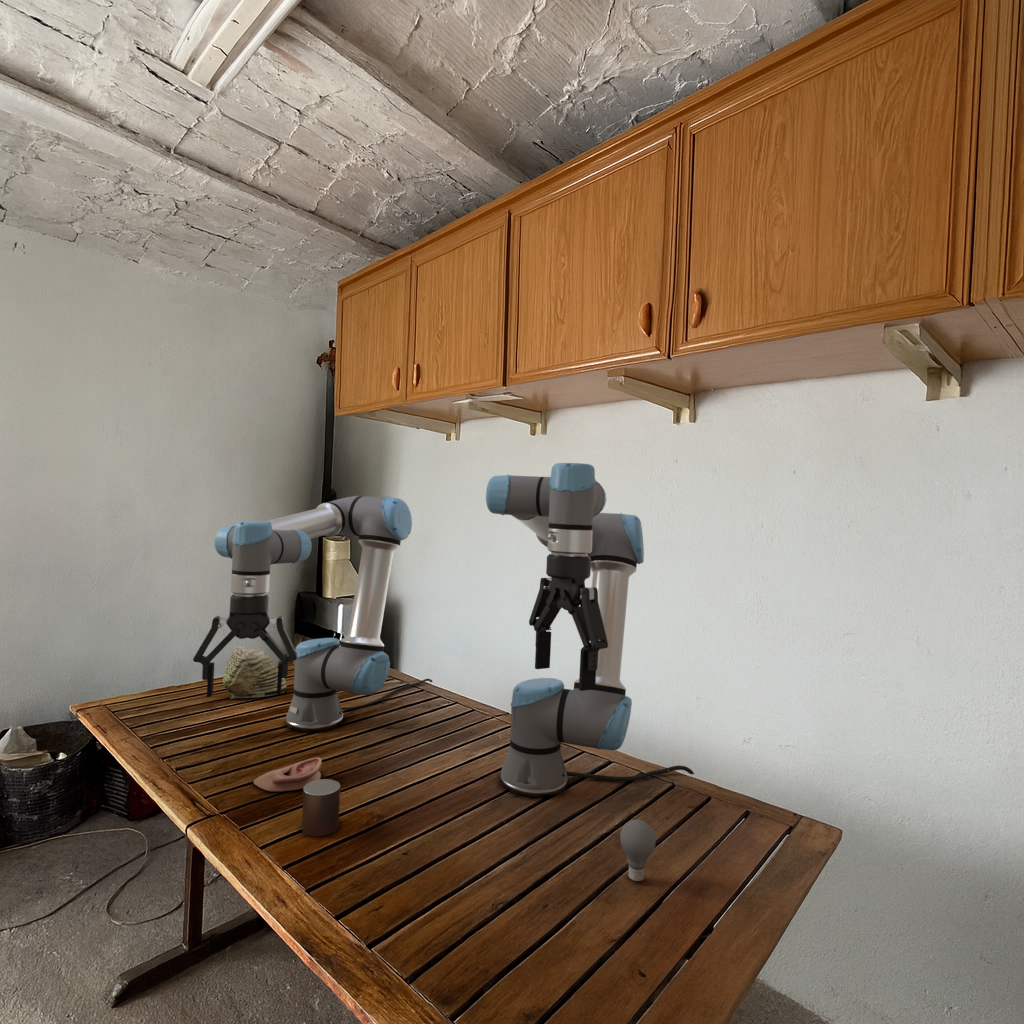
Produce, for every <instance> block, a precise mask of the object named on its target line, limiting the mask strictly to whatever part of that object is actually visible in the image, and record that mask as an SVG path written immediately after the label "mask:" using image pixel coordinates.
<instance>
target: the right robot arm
mask: <svg viewBox="0 0 1024 1024" xmlns="http://www.w3.org/2000/svg"><path fill="white" fill-rule="evenodd" d="M550 471H551V472H550V476H536V475H535V476H534V475H533V476H531V475H511V474H503V475H494V476H492V477H490V479H489V480H488V481H487V485H486V490H485V502H486V507H487V510H488V511H489V512H490V513H492V514H494V515H501V516H505V515H506V516H512V517H513V518H514V519H516V520H517V521H519V522H520V523H521V524H522V525H524V526H525V527H527V528H528V529H529V530H530V531H532V532H533V533H534V534H535V535H536V538H537V540H538V541H539V543H540V544H542V545H543V546H545V548H547V551H548V552H550V553H549V554H547V556H546V567H545V574H546V576H547V577H541V578H540V581H539V590H538V593H537V596H536V599H535V601H534V604H533V607H532V611H531V613H530V617H529V620H528V625H529V626H530V627H533V630H534V631H535V655H534V656H535V657H534V669H535V670H544V669H550V668H551V650H552V649H551V648H552V627H551V626H552V625H553V623H554V621H555V619H556V618H557V616H558V614H559V613H560V612H561V609H563V610H565V611H567V613H568V614H569V615H571V616H572V619H573V622H574V624H575V627H576V630H577V633H578V635H579V638H580V641H581V643H582V645H583V646H582V647H581V648H580V655H579V656H580V657H579V660H580V661H579V676H578V678H576V679H575V680H574V683H573V689H570V688H565V684H564V682H563V681H562V680H561V679H557V678H552V677H537V678H531V679H526V680H523V681H520V682H519V683H517V684H516V685H515V686H514V687H513V690H512V697H511V703H510V707H511V710H510V735H509V737H510V739H509V749H508V751H507V754H506V757H505V759H504V761H503V765H502V767H501V771H500V784H501V786H502V787H503V788H505V790H508V792H511V793H513V794H516V795H518V796H523V797H530V798H531V797H532V798H547V797H552V796H555V795H559V794H561V793H562V792H563V791H565V790H566V788H567V787H568V777H574V778H582V779H591V780H600V781H609V782H610V781H611V782H634V781H639V780H642V779H646V778H650V777H652V776H656V775H663V774H667V773H670V772H674V771H684V772H686V773H688V774H689V775H695V772H694V771H693V770H692V768H689V767H688V766H686V765H672V766H669V767H665V768H661V769H655V770H651V771H647V772H644V773H640V774H637V775H628V776H614V775H603V774H594V773H585V772H577V771H567V770H566V765H565V763H564V758H563V755H562V750H561V749H562V748H561V747H562V743H563V744H568V745H574V746H580V747H586V748H590V749H591V748H592V749H597V750H599V751H600V750H606V751H607V750H608V751H617V750H619V749H620V748H621V747H622V746H623V745H624V741H625V739H626V736H627V733H628V729H629V724H630V719H631V715H632V706H633V702H632V701H633V700H632V698H631V697H629V696H627V694H626V692H627V688H626V686H625V685H624V684H623V683H622V681H621V673H622V672H621V671H622V660H623V651H624V650H623V649H624V638H625V637H624V636H625V629H626V628H625V626H626V616H627V606H628V605H627V604H628V592H629V583H630V582H629V581H630V577H631V576H632V575H634V574H635V573H636V572H637V564H638V565H640V564H643V563H644V561H645V549H644V548H645V546H644V545H645V544H644V534H643V527H642V521H641V518H640V517H638V515H635V514H628V513H627V514H626V513H623V512H620V513H611V512H603V510H604V508H605V507H606V503H607V493H606V490H605V488H604V487H603V485H601V483H600V482H599V481H597V479H596V470H595V467H594V466H593V465H592V464H590V463H579V462H557V463H554V464H553V466H551V470H550ZM591 572H592V580H591V586H590V587H586V583H585V582H586V580H587V579H589V578H591ZM668 770H669V771H668Z"/></svg>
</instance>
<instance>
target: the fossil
mask: <svg viewBox="0 0 1024 1024" xmlns="http://www.w3.org/2000/svg"><path fill="white" fill-rule="evenodd" d="M222 676H223V677H222V685H223V687H224V688H225V690H226V691H228V693H229V698H230V699H250V698H264V697H271V696H275V695H277V679H278V667H277V665H276V663H275V662H274V660H273V659H272V658H271V657H270V656H269V655H268V654H267V653H266V652H265V650H264V649H263V648H260V647H258V648H251V647H247V646H246V647H245V646H238V647H237V648H236V649H235V650H233V651H232V653H231V656H230V657H229V659H228V660H227V663H226V666H225V668H224V671H223V675H222ZM287 687H288V686H287V680H286V678H282V688H281V694H284V693H285V691H286V689H287Z"/></svg>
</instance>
